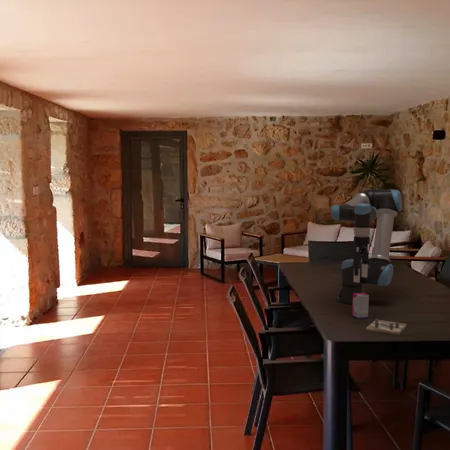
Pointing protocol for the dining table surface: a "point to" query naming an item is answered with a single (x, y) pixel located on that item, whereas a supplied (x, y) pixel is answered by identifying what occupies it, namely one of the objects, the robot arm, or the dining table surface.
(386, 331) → the plate
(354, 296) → the supplement box
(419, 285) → the dining table surface
